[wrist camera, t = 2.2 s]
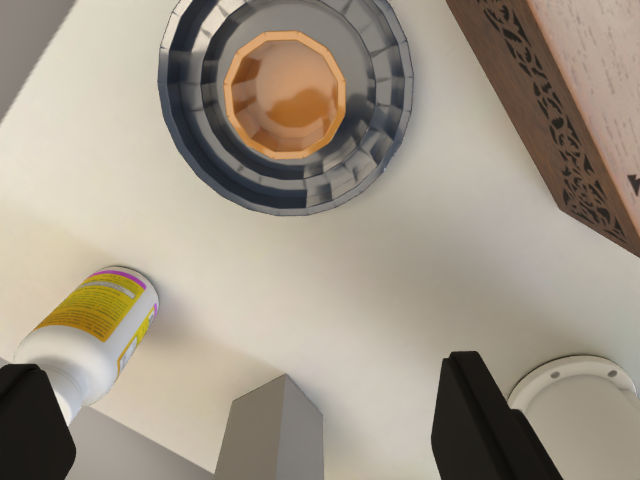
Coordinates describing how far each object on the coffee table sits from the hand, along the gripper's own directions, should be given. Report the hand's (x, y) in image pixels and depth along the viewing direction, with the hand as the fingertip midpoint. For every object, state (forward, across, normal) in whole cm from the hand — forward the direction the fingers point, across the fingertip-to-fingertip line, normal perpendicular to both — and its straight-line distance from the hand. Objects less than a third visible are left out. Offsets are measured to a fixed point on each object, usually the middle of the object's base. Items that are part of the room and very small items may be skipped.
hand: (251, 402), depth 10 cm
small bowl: (+24, 0, -5) cm, 24 cm away
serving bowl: (+24, 0, -5) cm, 25 cm away
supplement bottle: (+24, +16, +12) cm, 31 cm away
